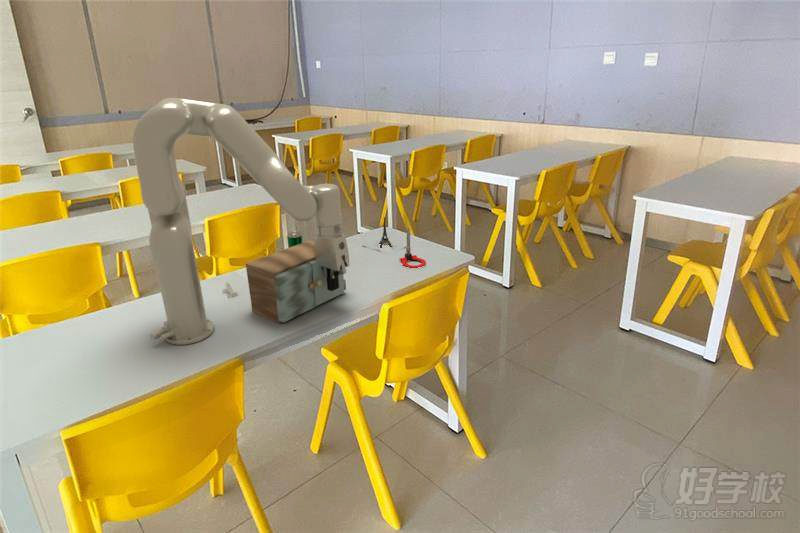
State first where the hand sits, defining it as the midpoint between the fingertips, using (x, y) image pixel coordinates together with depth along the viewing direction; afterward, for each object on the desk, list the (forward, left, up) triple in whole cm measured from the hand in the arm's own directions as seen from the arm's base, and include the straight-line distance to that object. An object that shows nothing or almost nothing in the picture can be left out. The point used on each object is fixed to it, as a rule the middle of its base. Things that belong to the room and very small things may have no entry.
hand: (333, 288), depth 147 cm
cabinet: (-5, +10, -6) cm, 12 cm away
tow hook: (+40, +1, -6) cm, 41 cm away
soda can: (+15, +34, -6) cm, 38 cm away
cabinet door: (+2, +3, -5) cm, 6 cm away
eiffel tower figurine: (+48, +21, -7) cm, 53 cm away
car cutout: (-13, +36, -7) cm, 39 cm away
